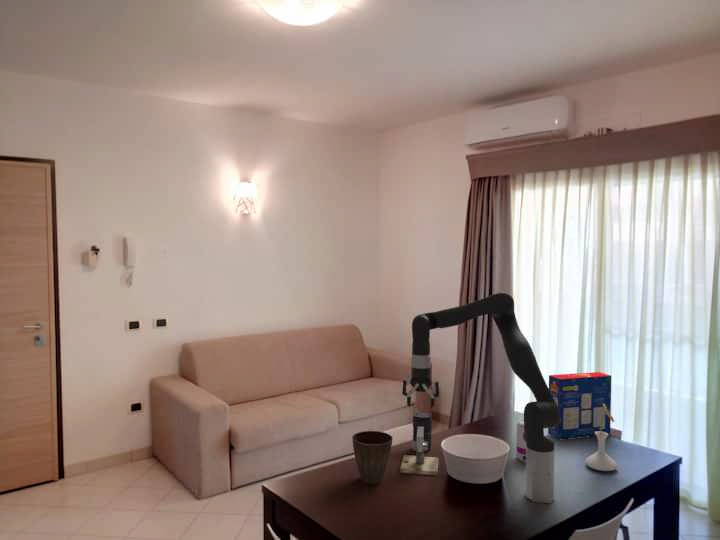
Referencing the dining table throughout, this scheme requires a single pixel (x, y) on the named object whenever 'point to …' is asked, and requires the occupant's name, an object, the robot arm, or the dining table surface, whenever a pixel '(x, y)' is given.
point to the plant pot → (372, 454)
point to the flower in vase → (602, 451)
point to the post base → (419, 464)
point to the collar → (420, 441)
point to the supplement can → (521, 442)
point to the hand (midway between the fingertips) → (420, 406)
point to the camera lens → (425, 422)
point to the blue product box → (581, 404)
